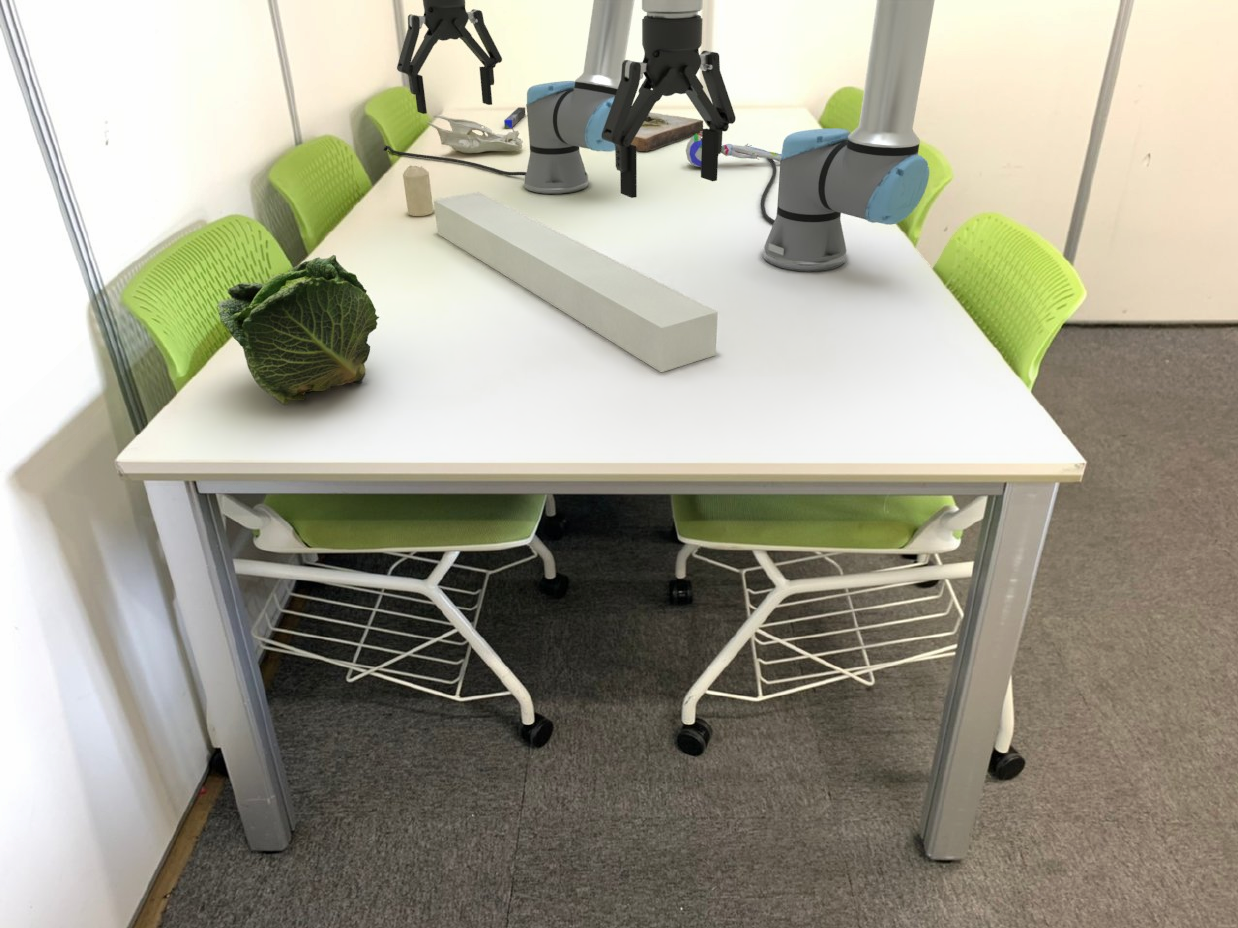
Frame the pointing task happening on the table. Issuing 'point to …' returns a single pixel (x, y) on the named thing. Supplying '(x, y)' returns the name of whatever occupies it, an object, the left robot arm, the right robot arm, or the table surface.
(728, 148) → the toy
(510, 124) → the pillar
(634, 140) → the plaque
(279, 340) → the vegetable
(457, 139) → the anatomical model
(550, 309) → the table surface
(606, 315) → the light grey rectangular bar
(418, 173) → the candle
